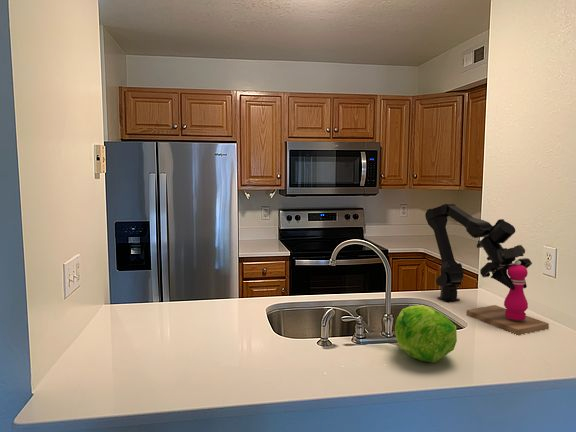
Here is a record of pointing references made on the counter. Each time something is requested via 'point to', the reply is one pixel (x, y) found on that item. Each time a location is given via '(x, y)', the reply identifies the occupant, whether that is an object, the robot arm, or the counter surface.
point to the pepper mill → (516, 293)
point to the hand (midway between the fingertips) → (519, 288)
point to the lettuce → (425, 333)
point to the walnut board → (506, 320)
